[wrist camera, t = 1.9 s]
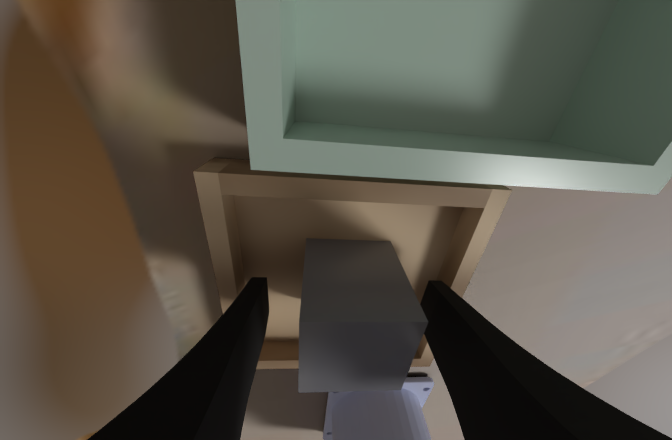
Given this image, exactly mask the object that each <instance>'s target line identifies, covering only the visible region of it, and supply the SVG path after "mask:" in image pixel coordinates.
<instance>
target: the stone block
mask: <svg viewBox="0 0 672 440" xmlns="http://www.w3.org/2000/svg"><path fill="white" fill-rule="evenodd" d="M427 324H428V320H427V318H426V316H425V314H424V312H423V310H422V307H421V305H420V303H419V301H418V299H417V297H416V295H415V292H414V290H413V288H412V286H411V284H410V282H409V280H408V277H407V275H406V273H405V271H404V269H403V267H402V265H401V262H400V260H399V258H398V256H397V254H396V252H395V250H394V247H393V245H392V243H391V241H373V240H344V239H316V238H306V247H305V258H304V270H303V282H302V294H301V305H300V317H299V367H298V393H308V392H347V391H387V390H401V389H402V386H403V384H404V381H405V379H406V376H407V374H408V371H409V369H410V366H411V364H412V361H413V359H414V356H415V354H416V351H417V349H418V346H419V344H420V341H421V339H422V337H423V334H424V332H425V329H426V327H427Z"/></svg>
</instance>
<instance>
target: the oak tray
mask: <svg viewBox="0 0 672 440" xmlns="http://www.w3.org/2000/svg"><path fill="white" fill-rule="evenodd" d="M193 174H194V179H195V183H196V188H197V193H198V198H199V202H200V207H201V212H202V217H203V221H204V226H205V231H206V236H207V241H208V245H209V250H210V255H211V260H212V264H213V269H214V274H215V279H216V283H217V288H218V293H219V298H220V302H221V307H222V312H223V314H224V312H225V311H226V310H227V309H228V308H229V306H230V305H231V304H232V303H233V301H234V300H235V299H236V297H237V296H238V295H239V294H240V292H241V291H242V289H243V288H244V287H245V285H246V284H247V282H248V281H249V280H250V279H251V278H252V277H267V284H268V298H269V317H268V323H267V329H266V335H265V338H264V342H263V346H262V349H261V353H260V357H259V360H258V364H257V367H256V369H298V367H299V317H300V305H301V294H302V282H303V270H304V258H305V247H306V238H316V239H344V240H373V241H391V243H392V245H393V247H394V250H395V252H396V254H397V256H398V258H399V260H400V262H401V265H402V267H403V269H404V271H405V273H406V275H407V277H408V280H409V282H410V284H411V286H412V288H413V290H414V292H415V295H416V297H417V299H418V301H419V303H421V300H422V297H423V295H424V292H425V289H426V286H427V284H428V281H429V280H435V281H443V282H444V283H445V284H446V285H447V286H449V287H450V288H451V289H452V290H453V291H454V292H456V293H457V294H458V295H459V296H460V297H461V298H462V297H463V294H464V292H465V290H466V288H467V286H468V284H469V282H470V279H471V277H472V275H473V273H474V271H475V269H476V267H477V265H478V262H479V260H480V258H481V256H482V254H483V252H484V250H485V247H486V245H487V243H488V241H489V239H490V237H491V235H492V233H493V230H494V228H495V226H496V224H497V222H498V220H499V218H500V215H501V213H502V211H503V209H504V207H505V205H506V203H507V200H508V198H509V196H510V194H511V192H512V190H511V189H509V188H507V187H505V186H503V185H493V184H476V183H460V182H444V181H427V180H411V179H394V178H378V177H361V176H345V175H329V174H312V173H296V172H279V171H263V170H251V166H250V160H240V159H224V158H213V159H211V160H210V161H208V162H207V163H205V164H204V165H202V166H201V167H199V168H198V169H196V170H195V171H193ZM433 358H434V356H433V354H432V352H431V349H430V347H429V345H428V342H427V340H426V338H425V335H424V334H423V337H422V339H421V341H420V344H419V346H418V349H417V351H416V354H415V356H414V359H413V361H412V364H411V366H410V367H423V366H430V365H431V363H432V361H433Z"/></svg>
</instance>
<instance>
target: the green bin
mask: <svg viewBox="0 0 672 440" xmlns="http://www.w3.org/2000/svg"><path fill="white" fill-rule="evenodd" d="M235 1H236V12H237V23H238V34H239V45H240V56H241V67H242V78H243V89H244V100H245V111H246V122H247V133H248V144H249V155H250V166H251V170H263V171H279V172H296V173H312V174H329V175H345V176H361V177H378V178H394V179H411V180H427V181H444V182H460V183H476V184H493V185H509V186H526V187H542V188H558V189H575V190H591V191H608V192H624V193H641V194H657V195H658V193H659V192H660V191H661V190H662V188H663V187H664V186H665V184H666V183H667V182H668V181H669V179H670V178H671V177H672V0H235Z"/></svg>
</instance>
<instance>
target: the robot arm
mask: <svg viewBox="0 0 672 440" xmlns="http://www.w3.org/2000/svg"><path fill="white" fill-rule="evenodd" d="M420 305H421V307H422V310H423V312H424V314H425V316H426V318H427V320H428V324H427V327H426V329H425V332H424V335H425V338H426V340H427V342H428V345H429V347H430V349H431V352H432V354H433V356H434V359H435V361H436V363H437V366H438V368H439V370H440V372H441V375H442V377H443V379H444V382H445V384H446V386H447V389H448V391H449V394H450V397H451V399H452V402H453V405H454V408H455V411H456V414H457V417H458V420H459V423H460V426H461V429H462V432H463V436H464V439H465V440H672V438H670V437H668V436H666V435H664V434H662V433H660V432H658V431H657V430H655V429H653V428H651V427H649V426H647V425H645V424H643V423H642V422H640V421H638V420H636V419H634V418H632V417H631V416H629V415H627V414H625V413H624V412H622V411H620V410H618V409H617V408H615V407H613V406H612V405H610V404H608V403H606V402H604V401H603V400H601V399H599V398H598V397H596V396H594V395H593V394H591V393H589V392H588V391H586V390H584V389H583V388H581V387H580V386H578V385H577V384H575V383H574V382H572V381H570V380H569V379H567V378H566V377H564V376H563V375H561V374H559V373H558V372H556V371H555V370H553V369H552V368H550V367H549V366H547V365H546V364H544V363H543V362H542V361H540V360H539V359H537V358H536V357H535V356H533V355H532V354H530V353H529V352H528V351H526V350H525V349H523V348H522V347H521V346H519V345H518V344H517V343H515V342H514V341H513V340H511V339H510V338H509V337H508V336H506V335H505V334H504V333H503V332H501V331H500V330H499V329H498V328H496V327H495V326H494V325H493V324H491V323H490V322H489V321H488V320H487V319H485V318H484V317H483V316H482V315H481V314H480V313H478V312H477V311H476V310H475V309H474V308H473V307H471V306H470V305H469V304H468V303H467V302H466V301H465V300H463V299H462V298H461V297H460V296H459V295H458V294H457V293H456V292H454V291H453V290H452V289H451V288H450V287H449V286H447V285H446V284H445V283H444V282H443V281H435V280H429V281H428V284H427V286H426V289H425V292H424V295H423V297H422V300H421V303H420ZM268 317H269V298H268V284H267V277H252V278H251V279H250V280H249V281H248V282H247V284H246V285H245V287H244V288H243V289H242V291H241V292H240V294H239V295H238V296H237V297H236V299H235V300H234V301H233V303H232V304H231V305H230V306H229V308H228V309H227V310H226V311H225V312H224V314H223V315H222V316H221V317H220V318H219V320H218V321H217V322H216V323H215V324H214V325H213V326H212V328H211V329H210V330H209V331H208V332H207V333H206V334H205V335H204V336H203V338H202V339H201V340H200V341H199V342H198V343H197V344H196V345H195V346H194V347H193V348H192V349H191V350H190V351H189V352H188V353H187V354H186V355H185V356H184V357H183V358H182V359H181V360H180V361H179V362H178V363H177V364H176V365H175V366H174V367H173V368H172V369H171V370H170V371H168V372H167V373H166V374H165V375H164V376H163V377H162V378H161V379H160V380H159V381H158V382H157V383H155V384H154V385H153V386H152V387H151V388H150V389H149V390H148V391H146V392H145V393H144V394H143V395H142V396H141V397H139V398H138V399H137V400H136V401H135V402H133V403H132V404H131V405H130V406H128V407H127V408H126V409H125V410H124V411H122V412H121V413H120V414H119V415H117V416H116V417H115V418H114V419H113V420H111V421H110V422H109V423H108V424H107V425H105V426H104V427H103V428H102V429H100V430H99V431H98V432H97V433H95V434H94V435H93V436H91V437H90V438H89V439H88V440H240V437H241V431H242V426H243V421H244V416H245V411H246V405H247V401H248V397H249V393H250V389H251V385H252V382H253V378H254V375H255V371H256V367H257V364H258V360H259V357H260V353H261V349H262V346H263V342H264V338H265V335H266V329H267V323H268ZM433 386H434V382H433V379H432V378H430V377H406V379H405V381H404V384H403V386H402V389H401V390H387V391H347V392H328V398H327V406H326V414H325V422H324V430H323V439H324V440H431V437H430V433H429V430H428V427H427V424H426V421H425V418H424V415H423V412H422V407H423V405H424V403H425V401H426V400H427V398H428V396H429V394H430V392H431V390H432V388H433Z"/></svg>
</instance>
